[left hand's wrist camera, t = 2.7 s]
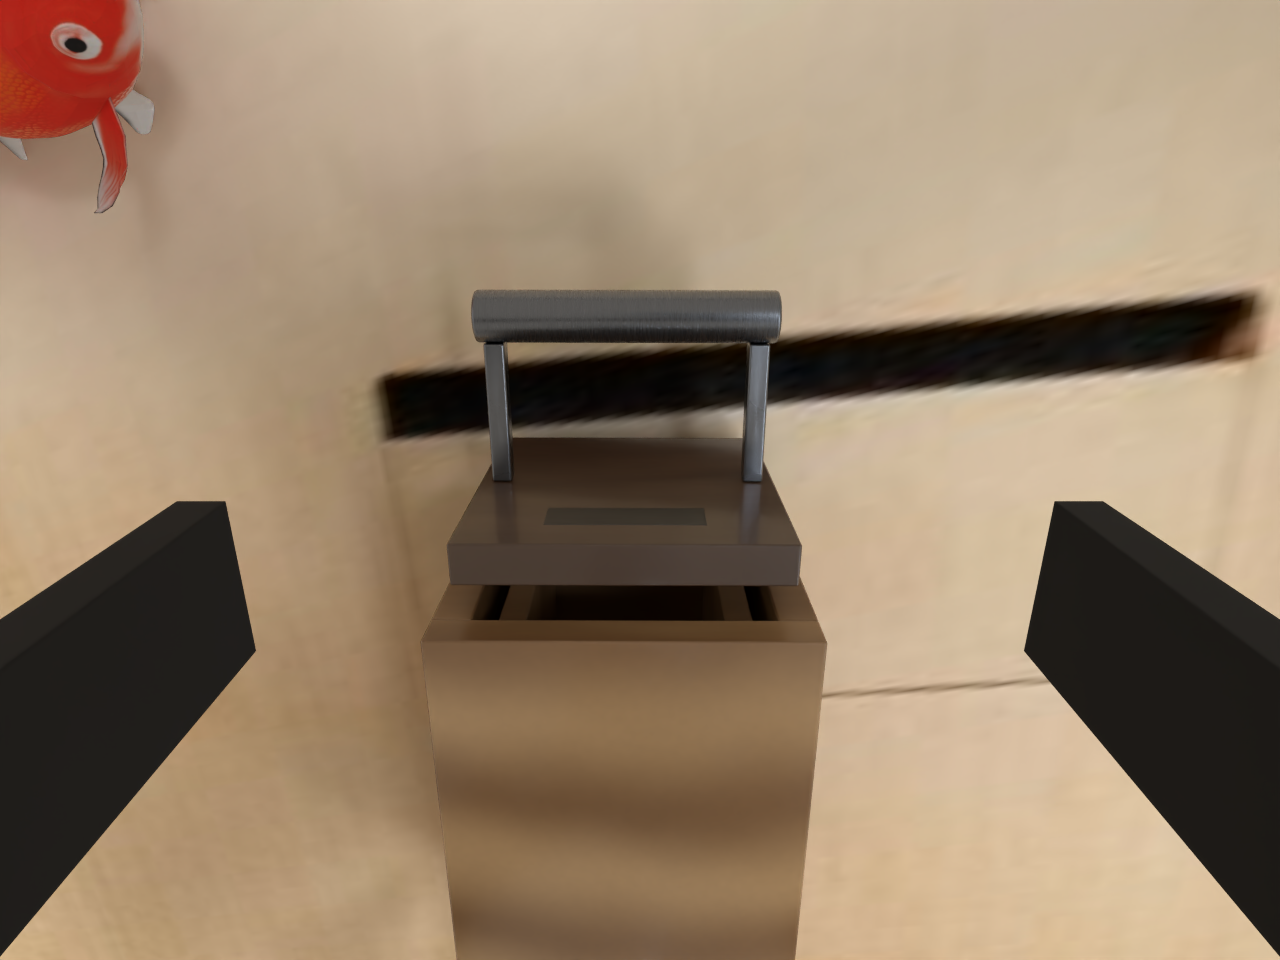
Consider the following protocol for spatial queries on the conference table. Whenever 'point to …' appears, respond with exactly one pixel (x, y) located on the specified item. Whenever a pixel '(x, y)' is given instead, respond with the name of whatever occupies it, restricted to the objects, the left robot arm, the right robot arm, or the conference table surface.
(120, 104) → the fish
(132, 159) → the conference table surface
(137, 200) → the conference table surface
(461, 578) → the drawer
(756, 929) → the cabinet
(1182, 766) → the left robot arm
